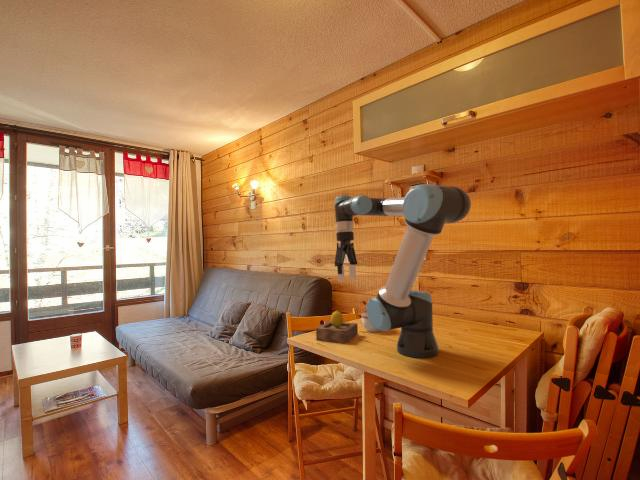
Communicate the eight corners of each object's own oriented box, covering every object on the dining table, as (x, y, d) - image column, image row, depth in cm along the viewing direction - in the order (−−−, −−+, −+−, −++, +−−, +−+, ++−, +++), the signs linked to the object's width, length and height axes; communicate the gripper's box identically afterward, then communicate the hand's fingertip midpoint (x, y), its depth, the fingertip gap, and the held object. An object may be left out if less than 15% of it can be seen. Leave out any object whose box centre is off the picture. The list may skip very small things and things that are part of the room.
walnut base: (357, 334, 149) (357, 323, 149) (346, 343, 137) (345, 331, 137) (330, 331, 155) (329, 320, 155) (316, 339, 143) (316, 328, 143)
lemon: (328, 328, 146) (328, 310, 146) (337, 326, 150) (337, 308, 150) (336, 330, 142) (336, 312, 142) (346, 328, 146) (345, 310, 146)
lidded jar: (384, 333, 150) (384, 313, 150) (361, 333, 152) (360, 313, 152) (384, 327, 161) (383, 308, 161) (362, 327, 162) (361, 308, 162)
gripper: (347, 233, 155) (349, 278, 154) (324, 231, 133) (327, 283, 132) (362, 232, 152) (364, 278, 151) (341, 229, 129) (344, 283, 128)
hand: (347, 280), depth 141 cm, fingers open, 13 cm apart
